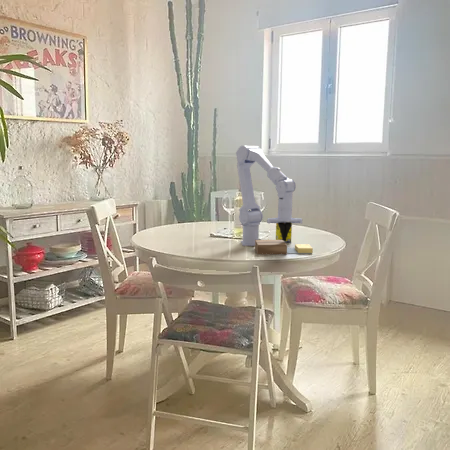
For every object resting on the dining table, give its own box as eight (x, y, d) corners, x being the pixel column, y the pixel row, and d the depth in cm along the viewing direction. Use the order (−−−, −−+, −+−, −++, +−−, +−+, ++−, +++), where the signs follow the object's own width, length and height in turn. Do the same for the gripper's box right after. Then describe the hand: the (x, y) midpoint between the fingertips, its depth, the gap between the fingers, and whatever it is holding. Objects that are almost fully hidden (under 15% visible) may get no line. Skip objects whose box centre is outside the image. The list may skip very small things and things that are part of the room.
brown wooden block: (254, 248, 210) (255, 239, 209) (282, 248, 210) (282, 239, 210) (257, 254, 199) (258, 244, 198) (286, 254, 199) (287, 244, 199)
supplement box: (279, 243, 222) (279, 219, 220) (275, 240, 228) (276, 217, 226) (291, 242, 223) (292, 219, 221) (287, 240, 229) (288, 217, 227)
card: (308, 244, 209) (308, 248, 209) (294, 244, 208) (294, 248, 209) (312, 248, 201) (312, 252, 201) (298, 248, 201) (298, 252, 201)
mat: (283, 248, 211) (283, 247, 211) (305, 248, 212) (305, 247, 212) (287, 253, 200) (287, 253, 200) (311, 253, 201) (311, 253, 201)
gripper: (269, 209, 197) (268, 242, 200) (304, 209, 198) (303, 242, 200) (266, 207, 204) (266, 238, 207) (300, 207, 205) (299, 238, 207)
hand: (284, 240), depth 204 cm, fingers closed
